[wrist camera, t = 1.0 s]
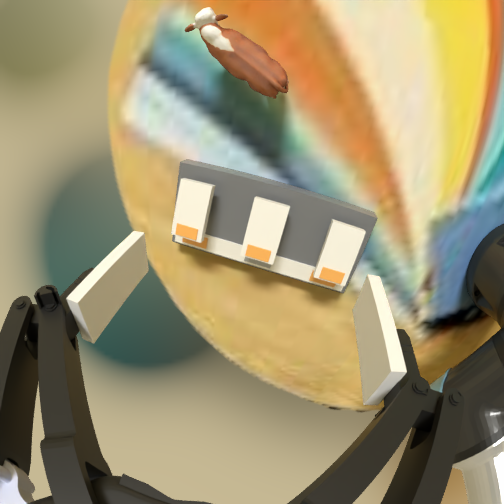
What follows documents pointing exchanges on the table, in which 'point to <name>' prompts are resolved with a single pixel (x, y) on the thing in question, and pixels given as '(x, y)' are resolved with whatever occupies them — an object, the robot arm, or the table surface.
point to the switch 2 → (339, 252)
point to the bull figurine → (240, 55)
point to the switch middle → (264, 230)
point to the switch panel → (296, 226)
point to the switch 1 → (192, 209)
